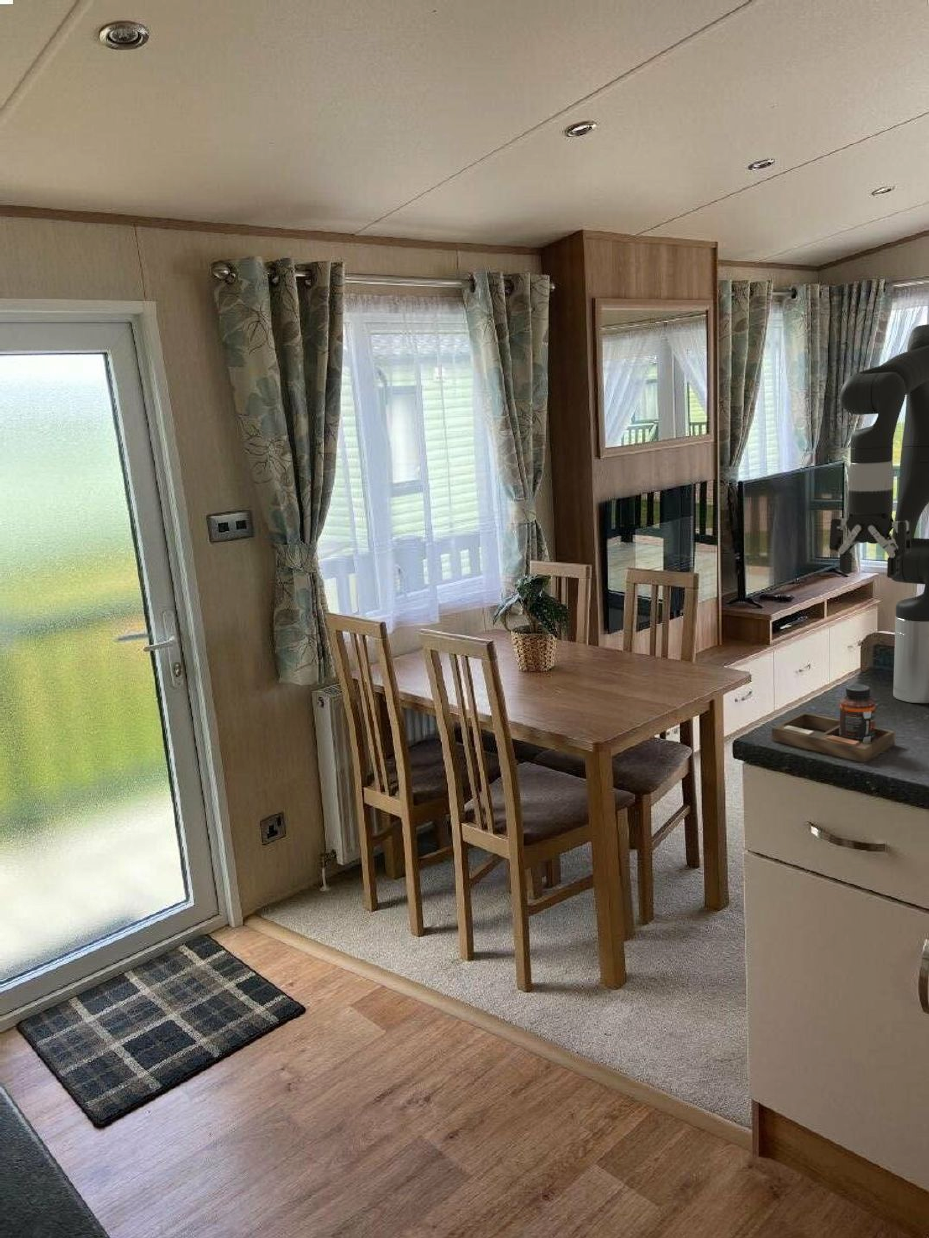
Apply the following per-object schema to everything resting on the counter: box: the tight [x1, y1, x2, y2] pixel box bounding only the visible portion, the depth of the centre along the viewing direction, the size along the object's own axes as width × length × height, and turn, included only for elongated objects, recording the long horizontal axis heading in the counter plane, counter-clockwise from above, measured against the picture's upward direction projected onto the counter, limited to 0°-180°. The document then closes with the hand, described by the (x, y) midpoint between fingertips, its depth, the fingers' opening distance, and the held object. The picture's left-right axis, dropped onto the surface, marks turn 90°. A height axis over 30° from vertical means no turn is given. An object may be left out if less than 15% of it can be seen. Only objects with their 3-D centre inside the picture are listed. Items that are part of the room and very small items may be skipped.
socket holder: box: [771, 712, 896, 764], centre depth 176 cm, size 18×11×3 cm, turn 41°
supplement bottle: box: [839, 683, 876, 744], centre depth 172 cm, size 6×6×11 cm
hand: (868, 575), depth 175 cm, fingers open, 8 cm apart
